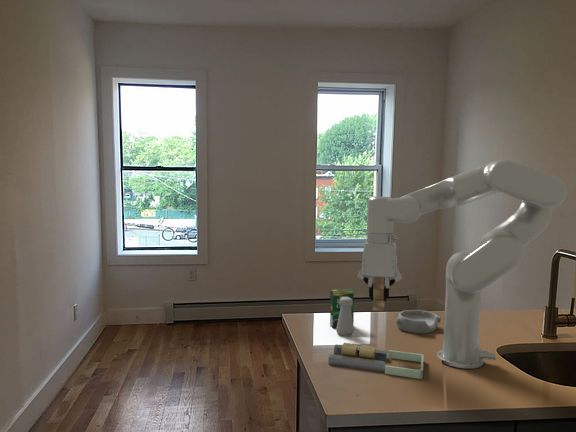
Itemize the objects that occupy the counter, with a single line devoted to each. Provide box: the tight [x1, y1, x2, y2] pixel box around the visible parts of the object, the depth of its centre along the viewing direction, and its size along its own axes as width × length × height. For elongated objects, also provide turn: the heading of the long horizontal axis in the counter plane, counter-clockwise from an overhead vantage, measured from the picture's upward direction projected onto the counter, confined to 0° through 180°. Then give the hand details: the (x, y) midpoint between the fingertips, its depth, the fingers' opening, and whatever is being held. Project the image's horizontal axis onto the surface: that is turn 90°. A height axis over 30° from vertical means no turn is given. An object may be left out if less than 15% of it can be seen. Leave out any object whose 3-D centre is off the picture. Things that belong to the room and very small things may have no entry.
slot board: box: [327, 344, 388, 373], centre depth 132 cm, size 15×10×3 cm, turn 73°
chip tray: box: [384, 349, 425, 380], centre depth 128 cm, size 10×12×3 cm
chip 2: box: [359, 344, 377, 360], centre depth 131 cm, size 4×4×4 cm
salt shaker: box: [335, 297, 355, 337], centre depth 154 cm, size 6×6×13 cm
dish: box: [395, 309, 442, 334], centre depth 165 cm, size 14×14×5 cm
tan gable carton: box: [372, 277, 386, 312], centre depth 140 cm, size 3×4×10 cm
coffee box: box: [329, 288, 355, 329], centre depth 164 cm, size 8×3×13 cm, turn 103°
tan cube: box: [341, 342, 359, 358], centre depth 133 cm, size 4×4×4 cm
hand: (378, 299), depth 140 cm, fingers closed on tan gable carton, 3 cm apart
